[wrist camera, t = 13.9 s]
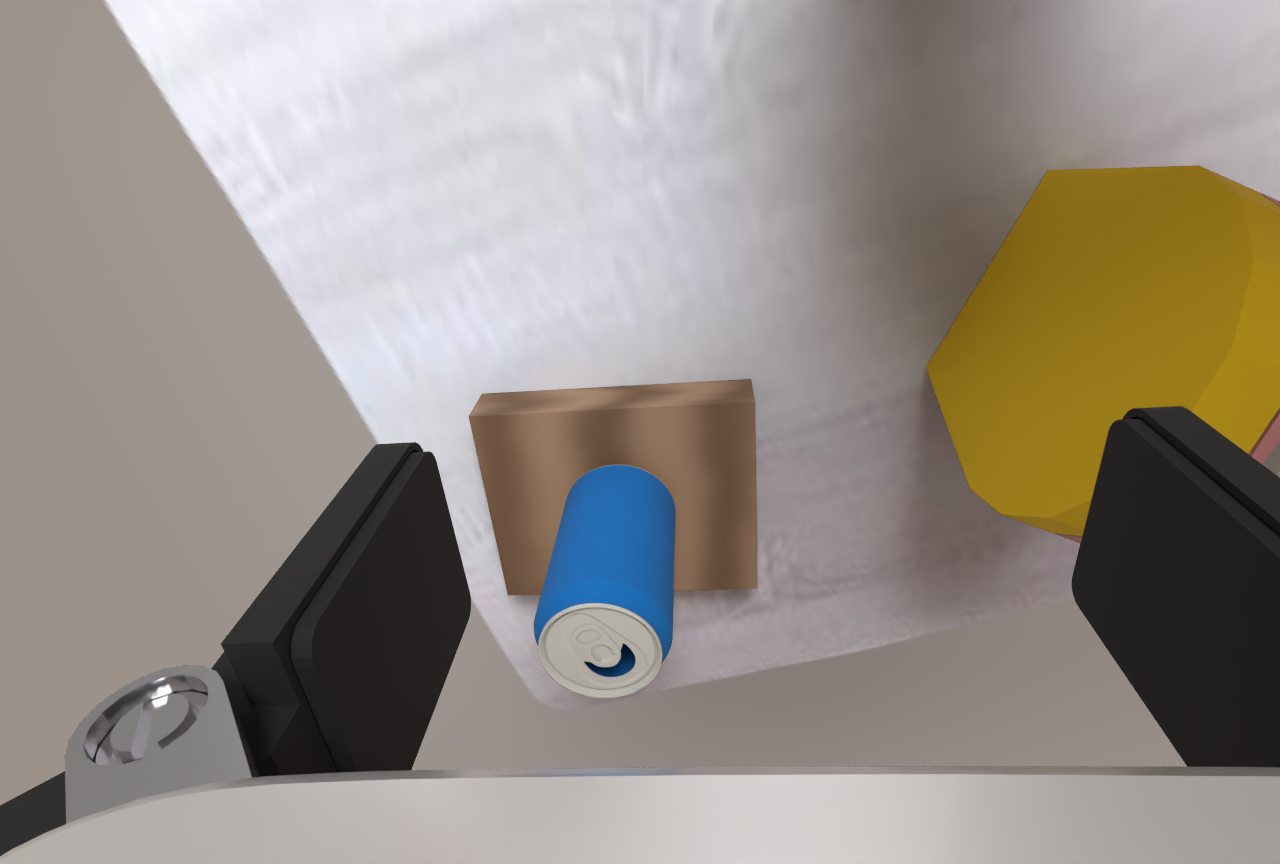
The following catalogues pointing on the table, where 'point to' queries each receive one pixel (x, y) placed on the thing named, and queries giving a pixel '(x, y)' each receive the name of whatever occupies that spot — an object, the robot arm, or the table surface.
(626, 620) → the beverage can
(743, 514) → the walnut board
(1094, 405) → the alarm clock
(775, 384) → the table surface
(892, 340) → the table surface
